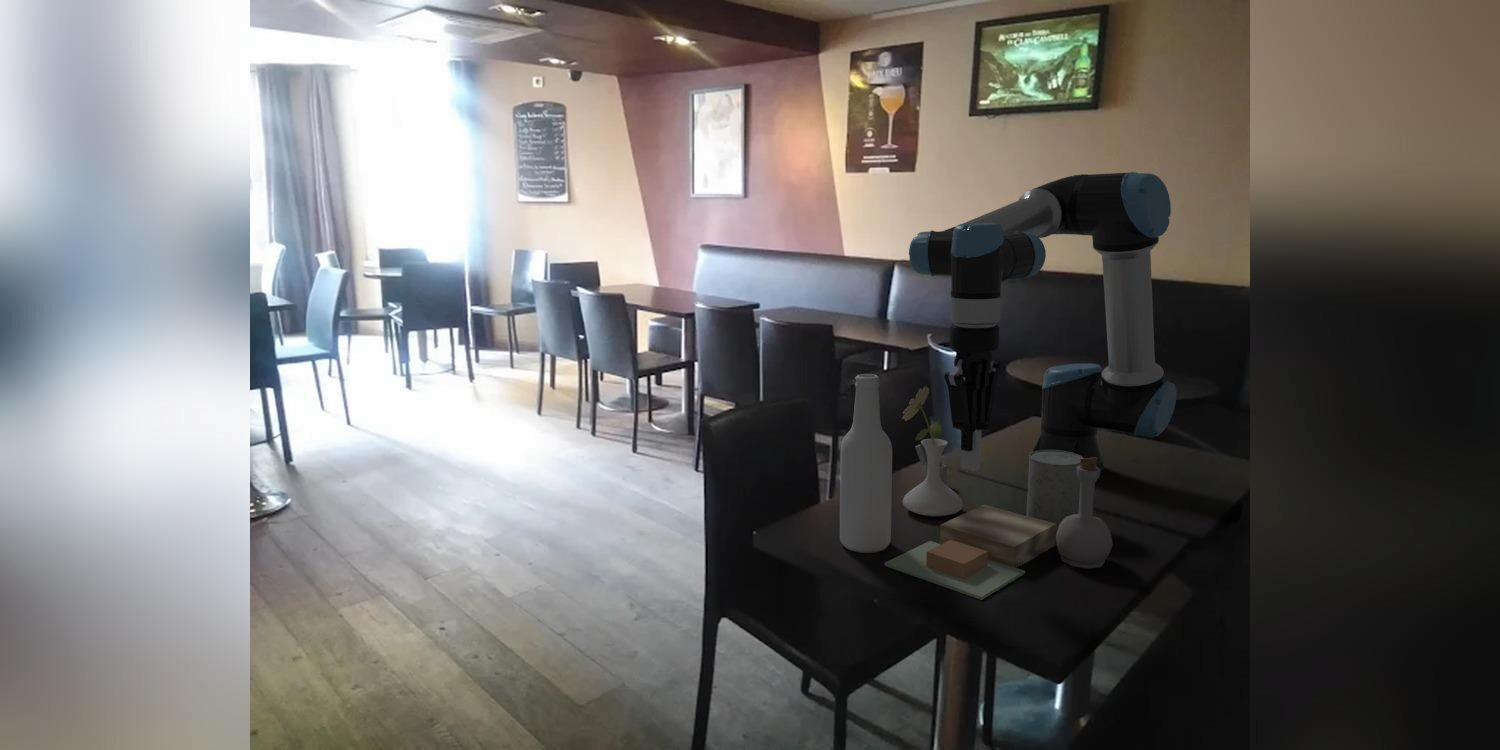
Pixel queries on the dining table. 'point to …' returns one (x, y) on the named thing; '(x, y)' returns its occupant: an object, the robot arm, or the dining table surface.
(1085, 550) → the potion bottle
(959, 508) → the flower in vase
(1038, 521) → the birch board
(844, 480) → the alcohol
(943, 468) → the lighter
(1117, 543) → the dining table surface
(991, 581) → the rubber mat
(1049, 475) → the white cylinder
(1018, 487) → the dining table surface
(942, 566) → the terracotta tile
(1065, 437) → the robot arm
